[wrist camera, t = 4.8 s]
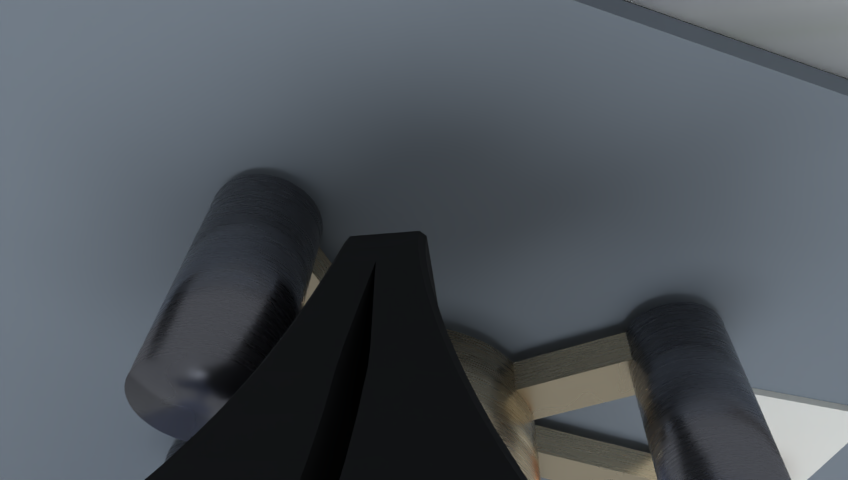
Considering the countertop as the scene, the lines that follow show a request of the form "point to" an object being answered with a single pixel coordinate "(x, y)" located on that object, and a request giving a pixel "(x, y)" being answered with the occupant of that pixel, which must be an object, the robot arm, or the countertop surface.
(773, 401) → the white rounded posts
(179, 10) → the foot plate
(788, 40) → the countertop surface
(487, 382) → the capstan
